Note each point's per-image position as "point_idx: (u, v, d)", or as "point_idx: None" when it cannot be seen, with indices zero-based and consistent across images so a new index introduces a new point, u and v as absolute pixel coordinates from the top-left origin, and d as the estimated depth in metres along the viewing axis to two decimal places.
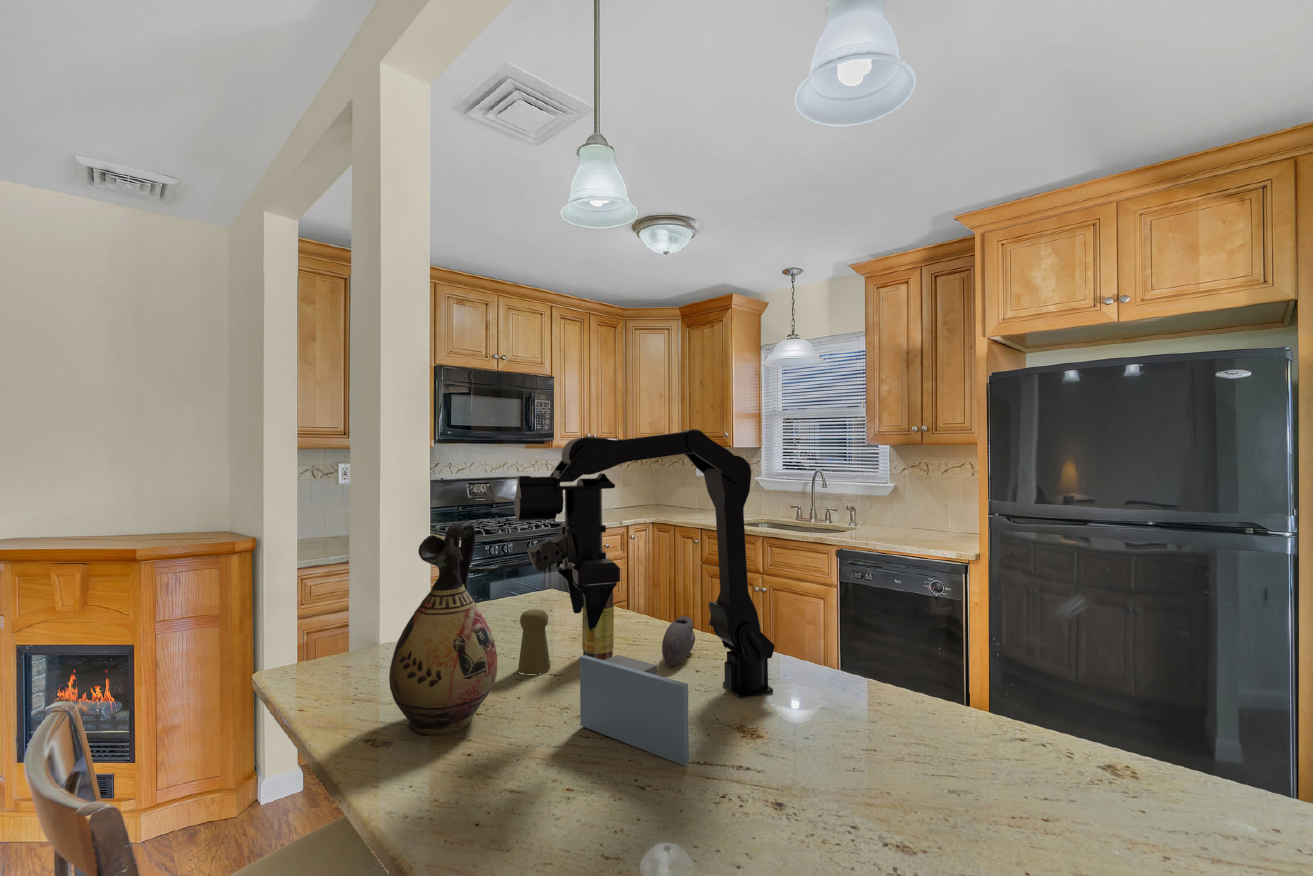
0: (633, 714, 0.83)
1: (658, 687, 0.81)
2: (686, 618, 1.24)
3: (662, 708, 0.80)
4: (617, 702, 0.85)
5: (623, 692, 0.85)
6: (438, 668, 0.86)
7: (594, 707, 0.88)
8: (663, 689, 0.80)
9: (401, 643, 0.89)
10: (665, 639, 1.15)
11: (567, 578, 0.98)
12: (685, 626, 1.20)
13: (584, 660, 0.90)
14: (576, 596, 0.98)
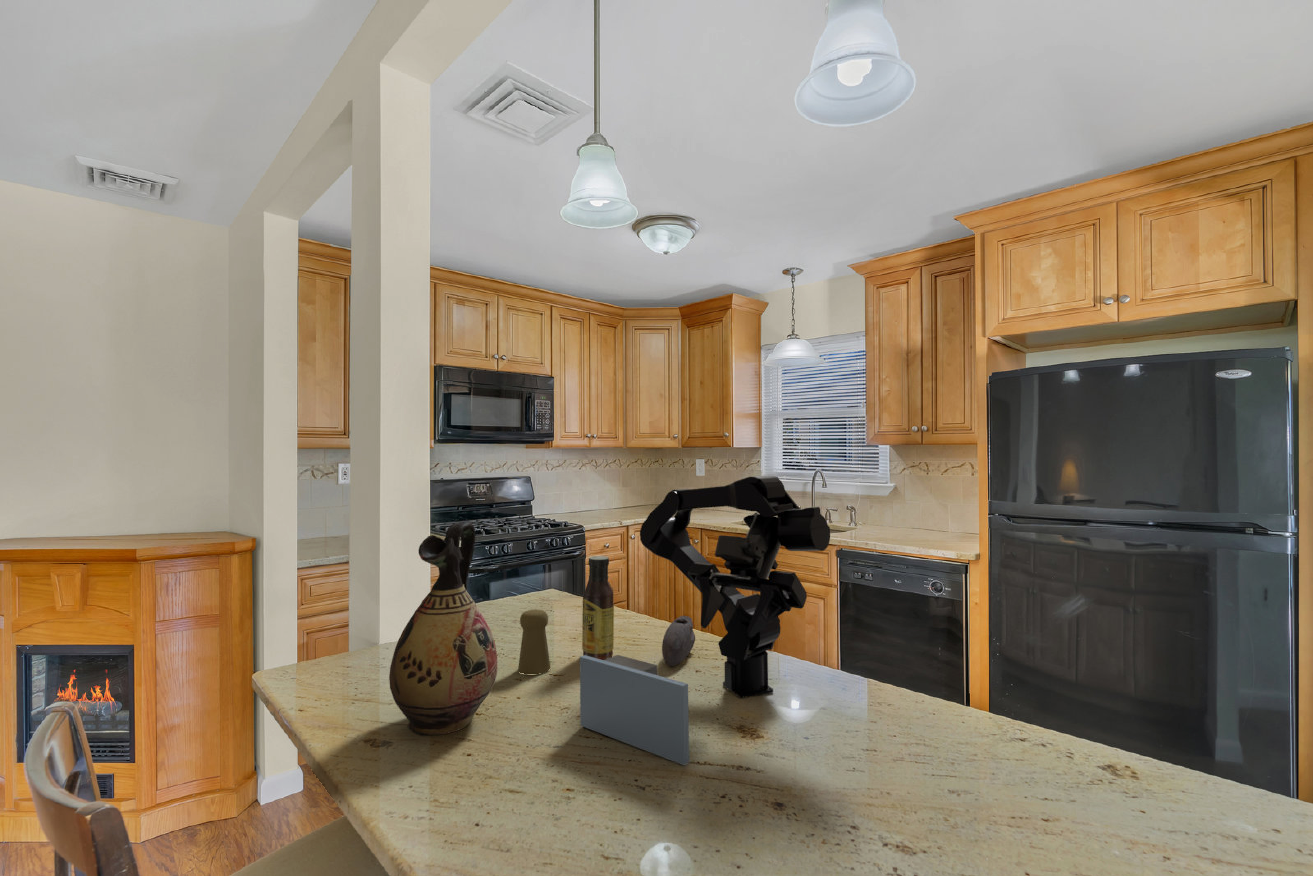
0: (633, 714, 0.83)
1: (658, 687, 0.81)
2: (686, 618, 1.24)
3: (662, 708, 0.80)
4: (617, 702, 0.85)
5: (623, 692, 0.85)
6: (438, 668, 0.86)
7: (594, 707, 0.88)
8: (663, 689, 0.80)
9: (401, 643, 0.89)
10: (665, 639, 1.15)
11: (710, 590, 0.96)
12: (685, 626, 1.20)
13: (584, 660, 0.90)
14: (708, 611, 0.95)
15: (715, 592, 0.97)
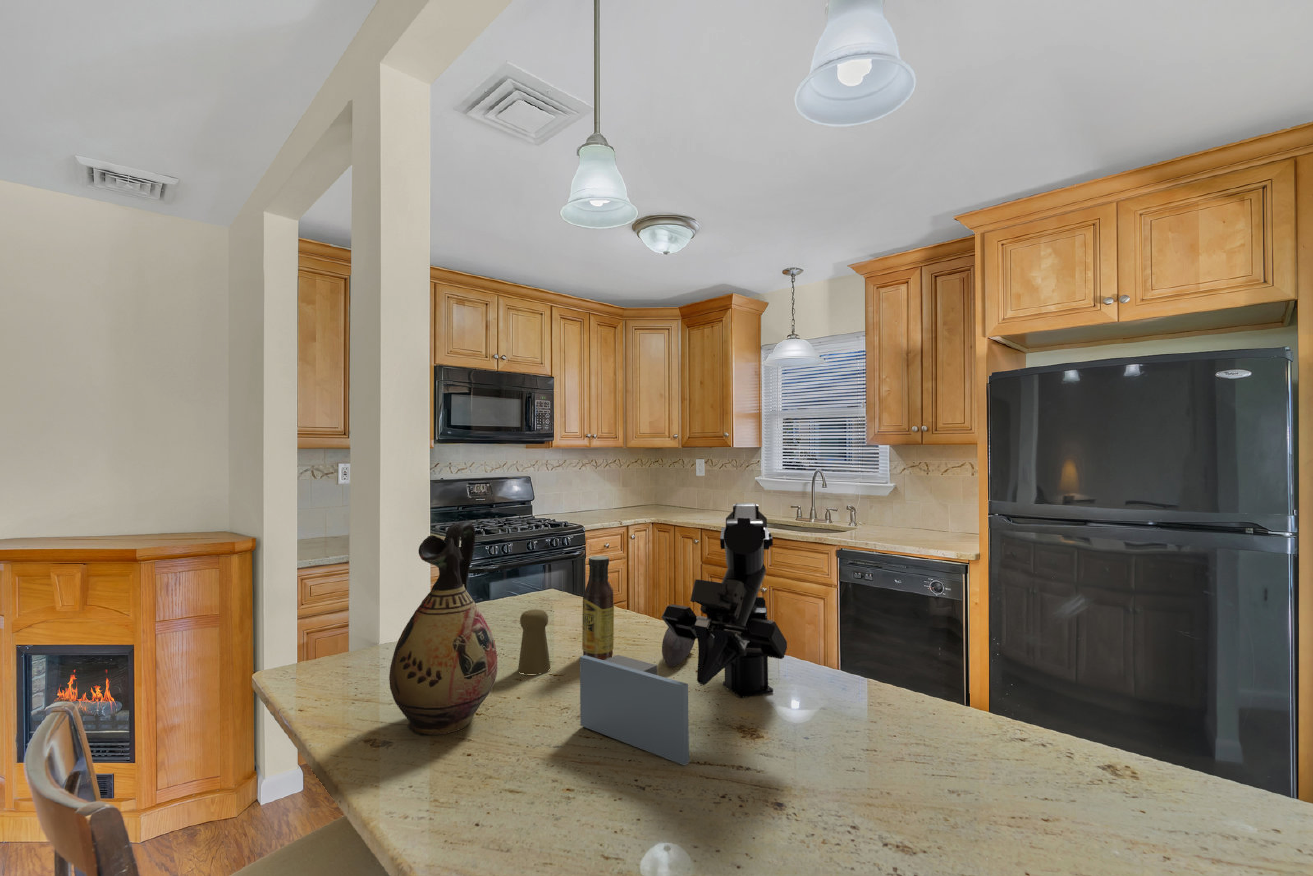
0: (633, 714, 0.83)
1: (658, 687, 0.81)
2: None
3: (662, 708, 0.80)
4: (617, 702, 0.85)
5: (623, 692, 0.85)
6: (438, 668, 0.86)
7: (594, 707, 0.88)
8: (663, 689, 0.80)
9: (401, 643, 0.89)
10: (665, 639, 1.15)
11: (707, 641, 0.88)
12: None
13: (584, 660, 0.90)
14: (705, 664, 0.87)
15: (712, 642, 0.89)
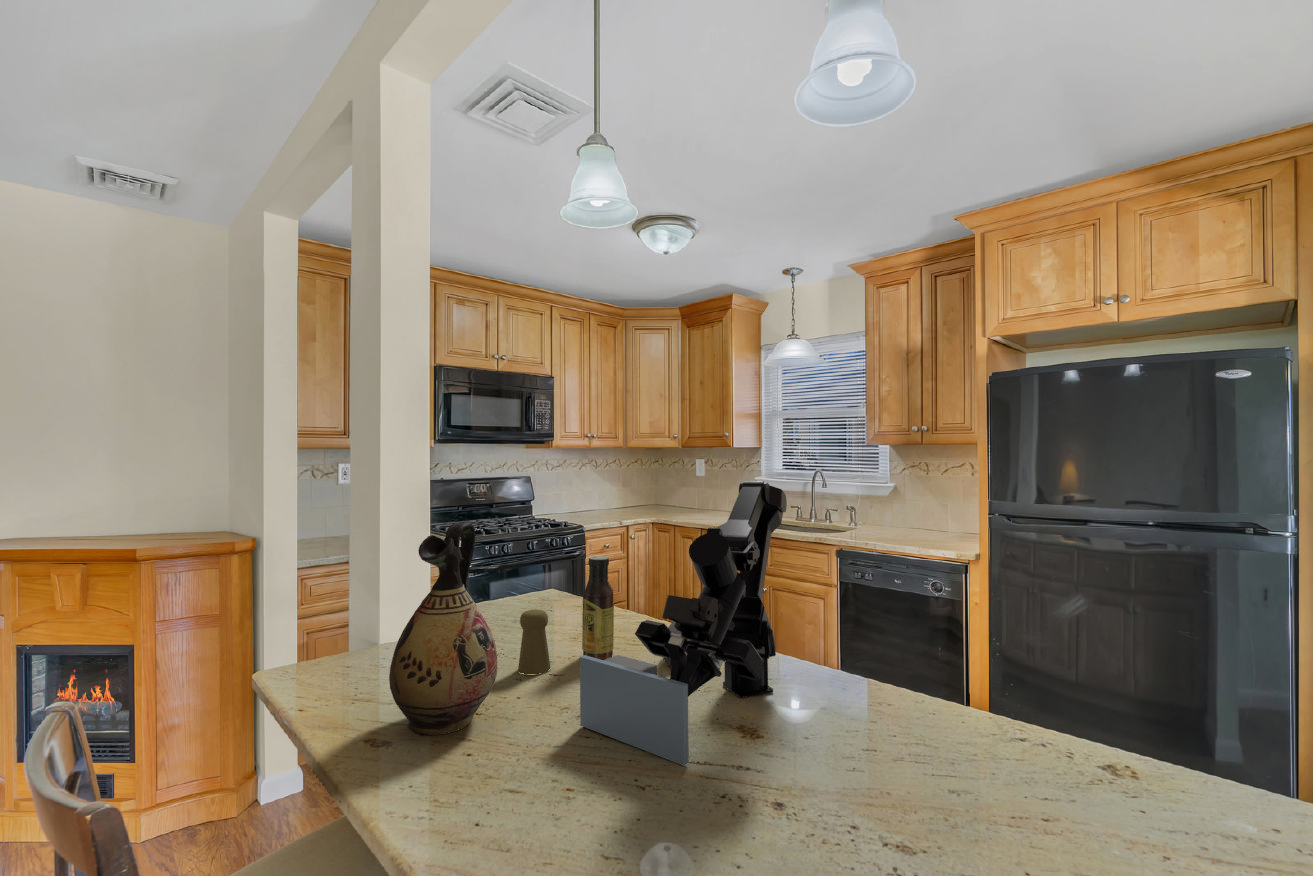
0: (632, 714, 0.83)
1: (658, 687, 0.81)
2: None
3: (662, 708, 0.80)
4: (617, 702, 0.85)
5: (622, 693, 0.85)
6: (438, 668, 0.86)
7: (594, 707, 0.88)
8: (663, 689, 0.80)
9: (401, 643, 0.89)
10: None
11: (680, 660, 0.84)
12: None
13: (584, 660, 0.90)
14: None
15: (686, 661, 0.85)
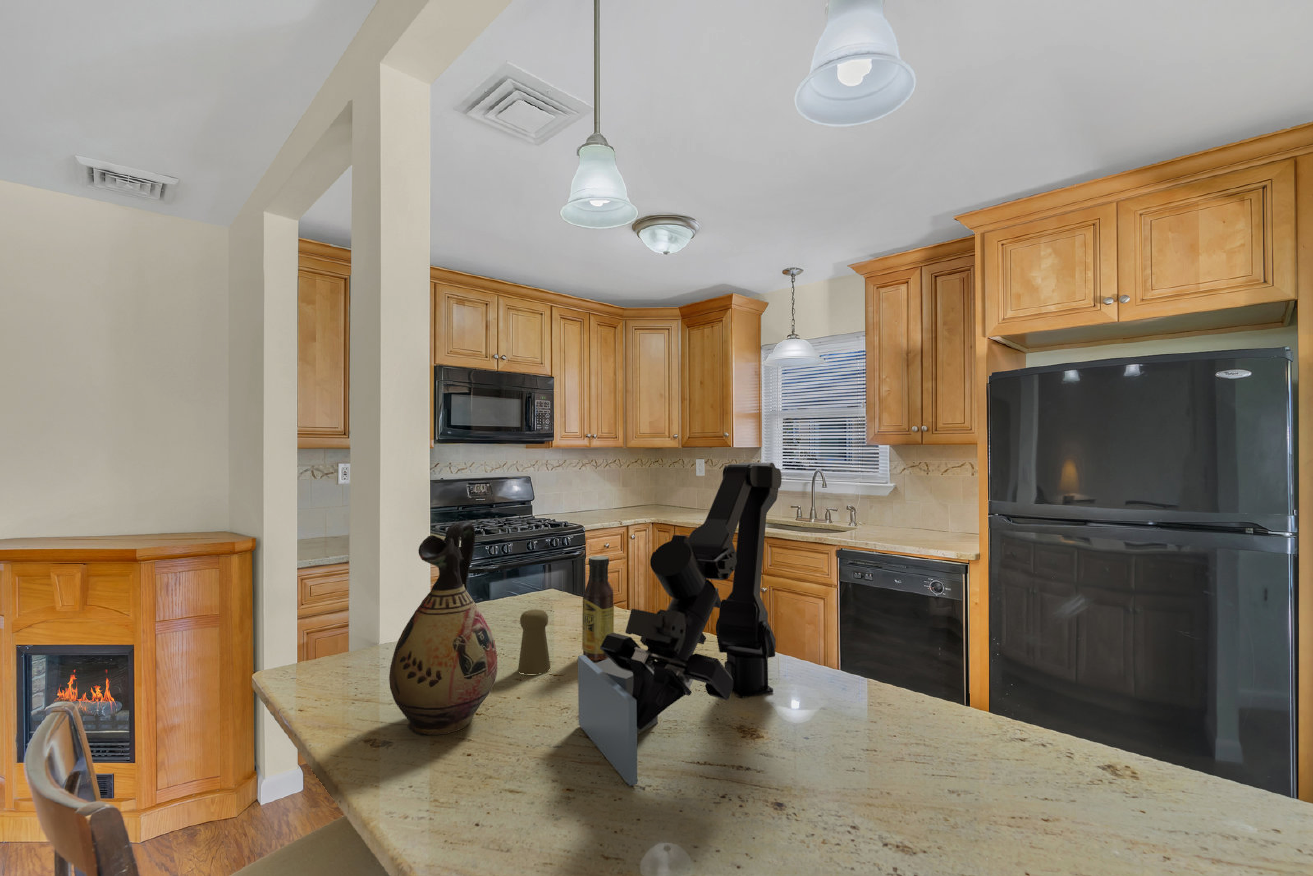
0: (603, 722, 0.81)
1: (615, 698, 0.77)
2: None
3: (618, 721, 0.76)
4: (595, 707, 0.84)
5: (598, 698, 0.83)
6: (438, 668, 0.86)
7: (585, 708, 0.88)
8: (618, 701, 0.76)
9: (401, 643, 0.89)
10: None
11: (643, 677, 0.79)
12: None
13: (580, 660, 0.90)
14: (639, 704, 0.77)
15: (650, 677, 0.80)
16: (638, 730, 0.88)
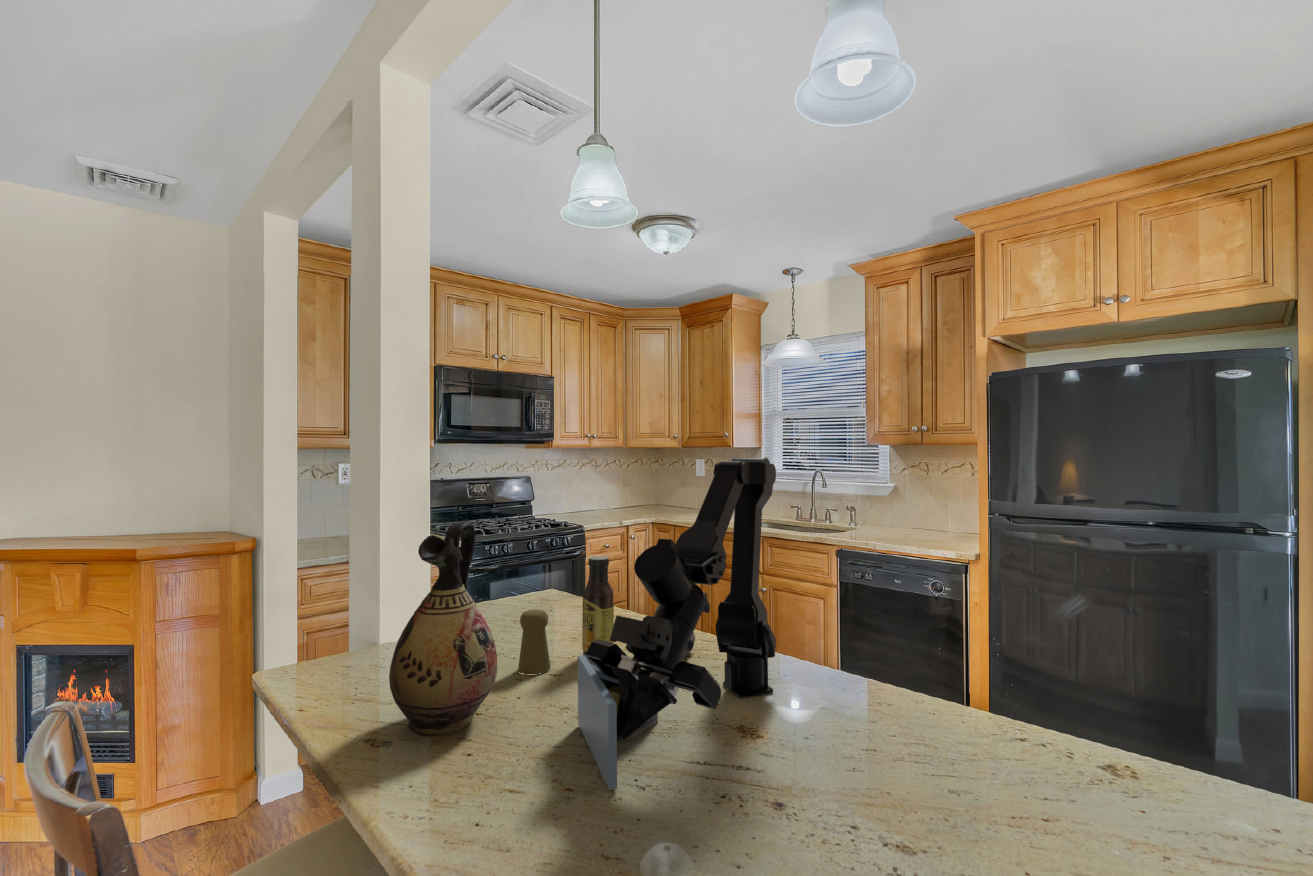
0: (593, 723, 0.81)
1: (600, 700, 0.77)
2: None
3: (601, 723, 0.76)
4: (588, 708, 0.83)
5: (590, 699, 0.82)
6: (438, 668, 0.86)
7: (582, 708, 0.88)
8: (602, 703, 0.76)
9: (401, 643, 0.89)
10: None
11: (630, 686, 0.76)
12: None
13: (579, 660, 0.90)
14: (626, 714, 0.75)
15: (637, 686, 0.77)
16: (638, 730, 0.88)
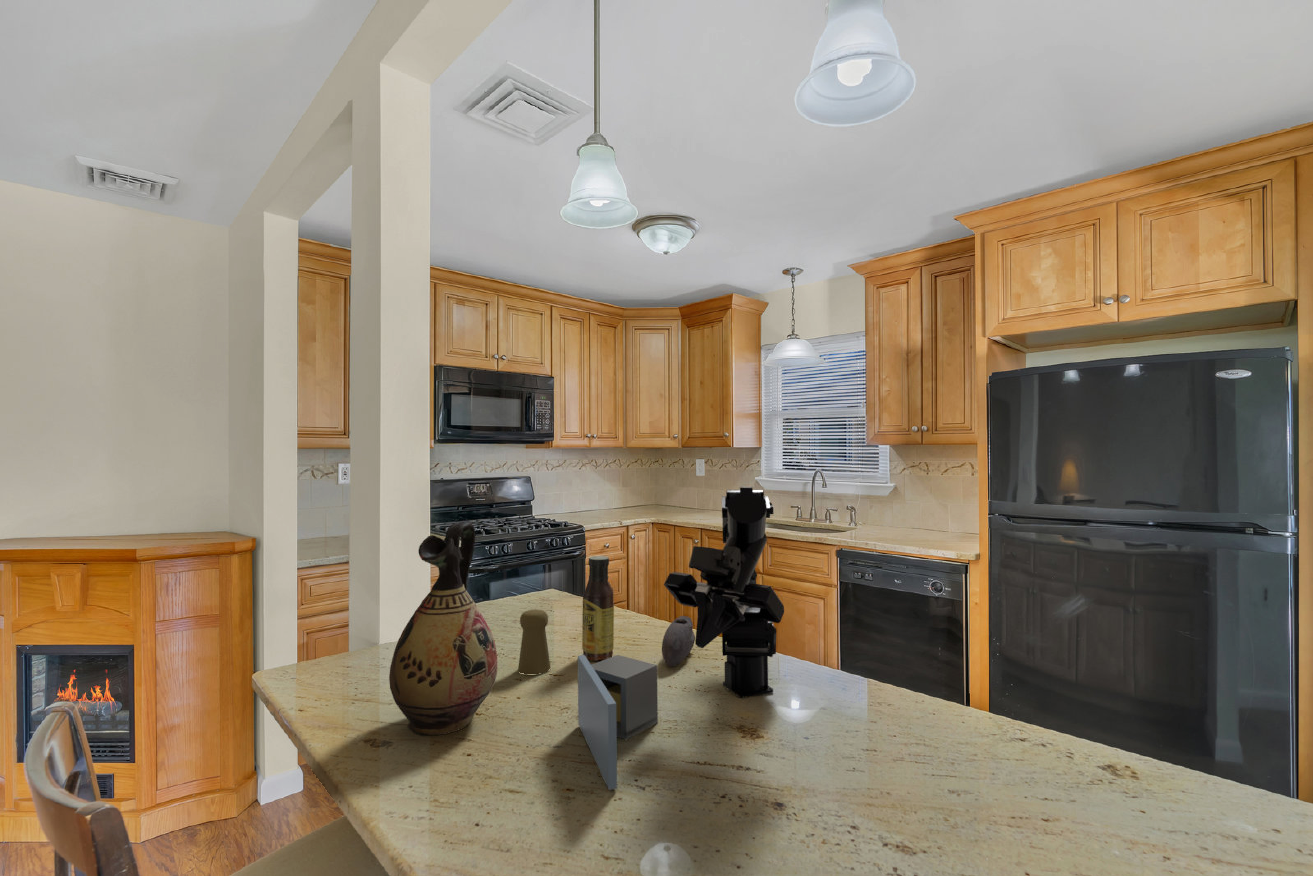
0: (593, 723, 0.81)
1: (600, 700, 0.77)
2: (686, 618, 1.24)
3: (601, 723, 0.76)
4: (588, 708, 0.83)
5: (589, 699, 0.82)
6: (438, 668, 0.86)
7: (582, 708, 0.88)
8: (601, 704, 0.76)
9: (401, 643, 0.89)
10: (665, 639, 1.15)
11: (706, 606, 0.90)
12: (685, 626, 1.20)
13: (579, 660, 0.90)
14: None
15: (712, 607, 0.91)
16: (638, 730, 0.88)
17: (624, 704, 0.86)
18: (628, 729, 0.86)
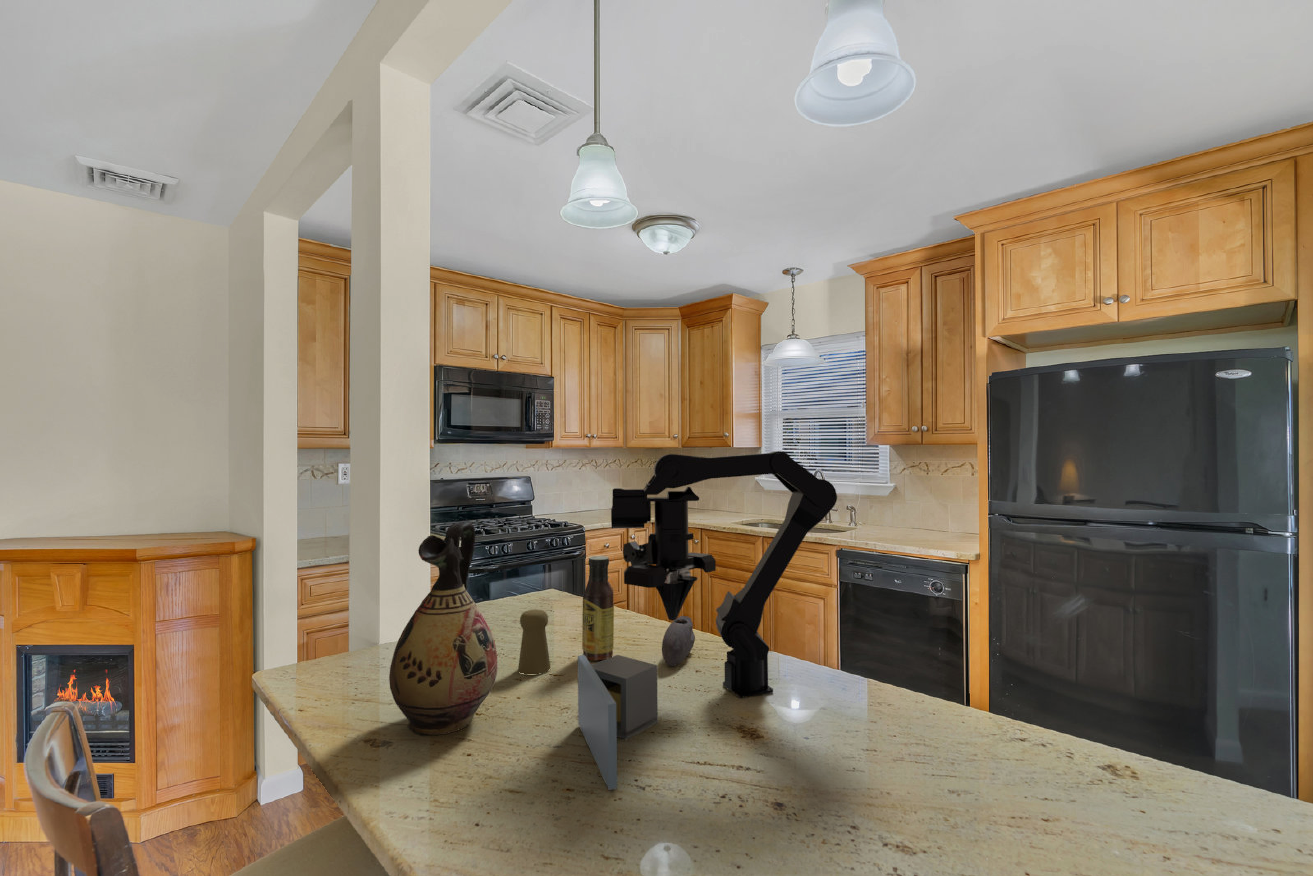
0: (593, 723, 0.81)
1: (600, 700, 0.77)
2: (686, 618, 1.24)
3: (601, 723, 0.76)
4: (588, 708, 0.83)
5: (589, 699, 0.82)
6: (438, 668, 0.86)
7: (582, 708, 0.88)
8: (601, 704, 0.76)
9: (401, 643, 0.89)
10: (665, 639, 1.15)
11: None
12: (685, 626, 1.20)
13: (579, 660, 0.90)
14: None
15: None
16: (638, 730, 0.88)
17: (624, 704, 0.86)
18: (628, 729, 0.86)
